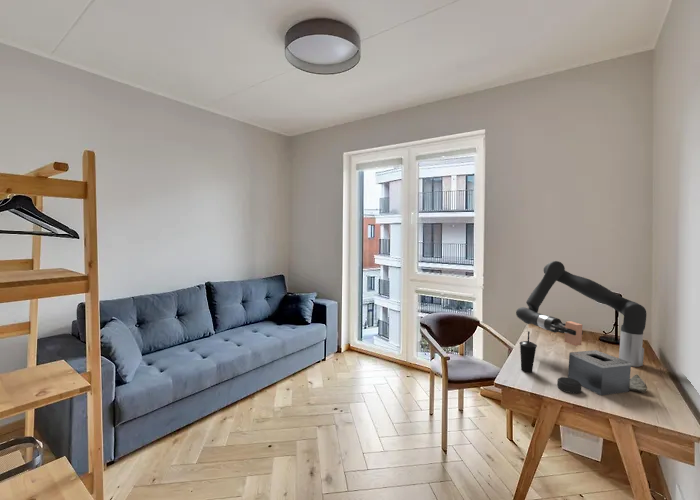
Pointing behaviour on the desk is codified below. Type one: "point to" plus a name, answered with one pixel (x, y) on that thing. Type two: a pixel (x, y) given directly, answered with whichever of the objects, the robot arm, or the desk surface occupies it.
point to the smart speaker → (569, 385)
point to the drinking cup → (527, 355)
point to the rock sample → (637, 384)
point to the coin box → (599, 372)
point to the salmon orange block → (576, 338)
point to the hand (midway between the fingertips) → (578, 332)
